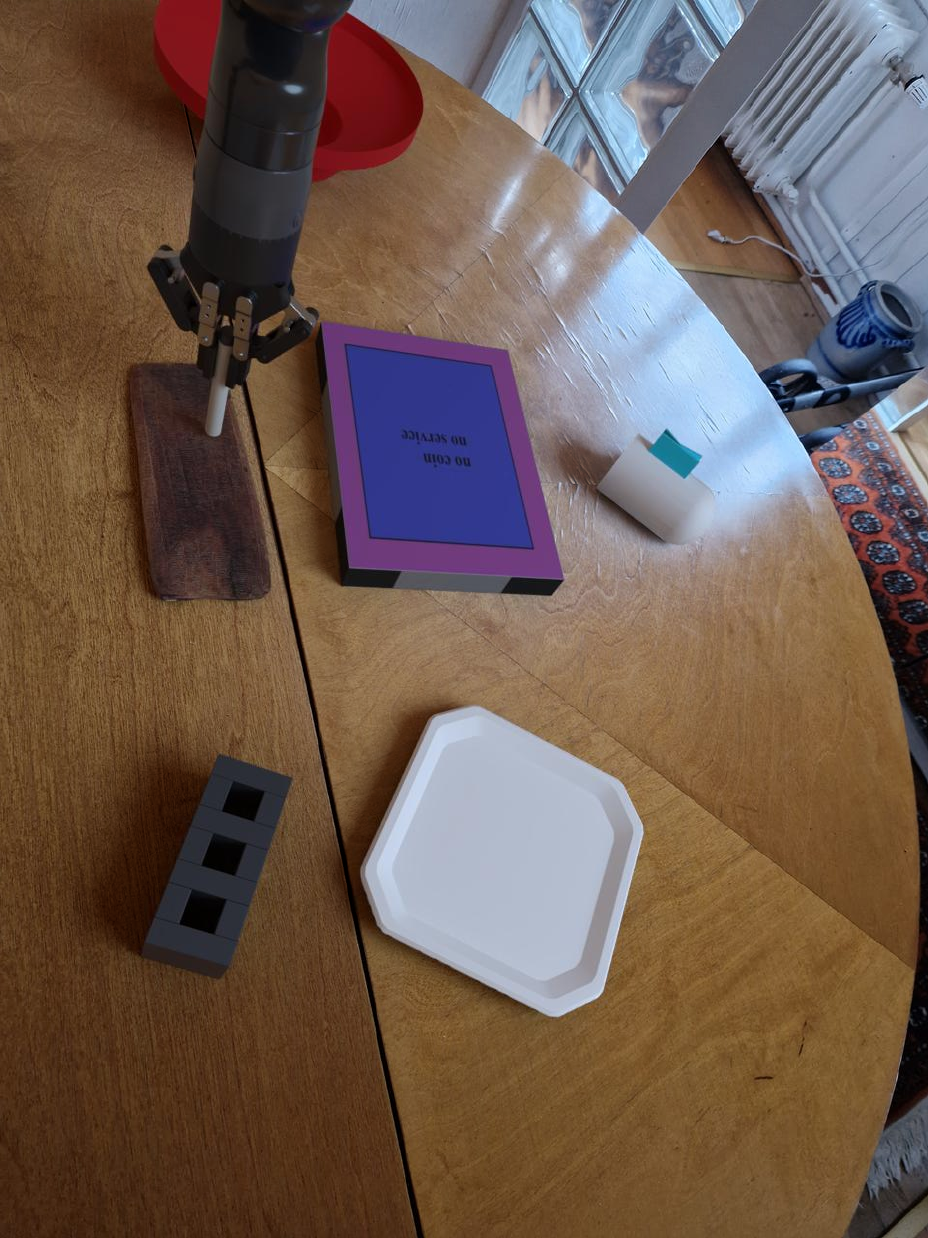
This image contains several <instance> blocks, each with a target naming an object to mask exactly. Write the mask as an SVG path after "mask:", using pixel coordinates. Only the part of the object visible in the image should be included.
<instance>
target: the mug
mask: <svg viewBox="0 0 928 1238" xmlns="http://www.w3.org/2000/svg"><path fill="white" fill-rule="evenodd" d="M702 458H703V455H702V454H700V453H699V452H696V451H695V450H692V449H691V448H689V447H687V446H686V445H684V444H682V443H681V442H680V441H679V440H678V438H676V437H675V435H674V434H673V433H672V432H671V431H670V430H669V428H668V427H666V428H665V429H664V431H663V432H662V433H661V435H659V437H658V438H657V439H656V441H655V442H654V443H652V441H649V440H648V439H647V438H646V437H645V436H643V435H642V434H641V433H637V434H636V436H634V438H633V439H632V441H631V442H630V443H629V444H628V446H627V447H625V449H624V450H623V452H622V453H621V454H620V455H619V457H618V458H617V460H615V462H614V463H613V464H612V466H611V467H610V468H609V470H608V471H607V473H606V474H605V475H604V476H603V478H602V479H601V480H600V482H599V483H598V484H597V486H596V490H598V491H599V492H600V493H601V494H603V495H604V496H606V497H607V498H608V499H610V500H611V501H612V502H613V503H615V504H616V505H617V506H619V507H620V508H621V509H622V510H623V511H625V512H626V513H627V514H629V515H630V516H632V517H633V518H634V519H635V520H637V521H638V522H639V523H641V524H642V525H643V526H644V527H646V528H647V529H648V530H650V531H651V532H652V533H654V534H655V535H656V536H657V537H658V538H660V539H661V540H662V541H664V542H666V543H668V544H671V545H676V546H679V545H686V544H690V543H693V542H695V541H696V540H698V539H699V538H701V537H702V536H703V535H705V534H706V533H707V531H708V530H709V529H710V527H711V526H712V524H713V522H714V521H715V518H716V515H717V499H716V496H715V493H714V491H713V490H712V489H711V487H710V486H709V485H707V484H706V483H705V482H703V481H702V480H701V479H699V478H698V477H696V476H695V475H694V474H693V473H692V472H693V470H694V469H695V468H696V467H697V466H698V464H700V460H701V459H702Z"/></svg>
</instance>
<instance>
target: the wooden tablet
mask: <svg viewBox="0 0 928 1238" xmlns="http://www.w3.org/2000/svg"><path fill="white" fill-rule="evenodd" d="M130 373H131V374H130V377H129V396H130V399H129V400H130V406H131V407H130V408H131V414H132V420H133V429H134V437H135V444H136V451H137V461H138V462H137V463H138V471H139V472H138V473H139V474H138V475H139V485H140V495H141V496H140V497H141V506H142V512H143V522H144V530H145V539H146V549H147V558H148V559H147V560H148V566H149V573H150V577H151V582H152V585H153V589H154V592H155V593H156V595H157V598H159V599H160V600H161V601H163V602H169V603H171V602H183V601H184V602H186V601H194V600H203V599H211V600H212V599H215V600H220V601H231V602H235V601H236V602H241V601H254V600H261V599H263V598H265V597H266V596H267V595H268V594H269V593H270V592H271V588H272V578H271V565H270V564H271V563H270V555H269V550H268V544H267V538H266V537H267V536H266V532H265V527H264V522H263V516H262V512H261V507H260V502H259V499H258V493H257V488H256V484H255V480H254V477H253V473H252V468H251V465H250V462H249V457H248V454H247V453H248V452H247V450H246V446H245V442H244V438H243V435H242V431H241V428H240V424H239V423H240V422H239V419H238V415H237V413H236V408H235V405H234V401H232V394H231V391H230V388H229V389H228V395H227V401H226V406H225V412H224V418H223V423H222V429H221V433H220V435H218V436H210V435H208V434H207V433H206V431H205V426H206V419H207V413H208V406H209V400H210V393H211V387H212V380H213V377H212V379H211V380H208V379H206V378H204V377H202V373H203V371H202V370H200V369H198V367H197V364H196V363H189V362H187V363H186V362H172V363H171V364H169V363H163V362H152V363H143V364H137V365H135V366H133V367H132V369H131V372H130Z"/></svg>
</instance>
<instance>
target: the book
mask: <svg viewBox="0 0 928 1238" xmlns="http://www.w3.org/2000/svg"><path fill="white" fill-rule="evenodd" d="M314 344H315V353H316V362H317V372H318V380H319V390H320V401H321V408H322V409H321V410H322V417H323V419H322V420H323V428H324V438H325V446H326V455H327V464H328V474H329V483H330V484H329V485H330V492H331V493H330V494H331V499H332V500H331V501H332V510H333V511H332V512H333V520H334V521H333V522H334V530H335V539H336V548H337V557H338V567H339V575H340V577H339V578H340V585H341V587H351V588H374V589H392V590H393V589H396V590H417V591H435V592H437V591H439V592H458V593H459V592H462V593H478V594H479V593H481V594H503V595H526V596H542V597H543V596H544V597H545V596H547V597H552V596H553V594H554V593H555V592H556V591H557V590H558V588H559V587H560V586H561V585H562V584H563V582H564V581H565V577H564V573H563V569H562V564H561V560H560V556H559V552H558V547H557V543H556V540H555V536H554V535H555V534H554V531H553V528H552V527H553V526H552V523H551V520H550V519H551V518H550V515H549V511H548V507H547V503H546V499H545V495H544V491H543V486H542V482H541V478H540V475H539V470H538V467H537V463H536V459H535V453H534V450H533V446H532V442H531V438H530V434H529V429H528V426H527V421H526V417H525V413H524V408H523V406H522V402H521V397H520V393H519V389H518V385H517V381H516V377H515V373H514V368H513V366H512V365H513V364H512V361H511V357H510V352H509V350H508V349H503V348H498V347H497V348H496V347H491V346H486V345H479V344H478V345H477V344H472V343H465V342H459V341H453V340H448V339H441V338H440V339H439V338H434V337H428V336H421V335H416V334H408V333H402V332H395V331H389V330H382V329H378V328H377V329H376V328H370V327H365V326H357V325H353V324H352V325H351V324H345V323H338V322H332V321H325V320H320V324H319V327H318V331H317V335H316V338H315V342H314Z"/></svg>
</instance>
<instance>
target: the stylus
mask: <svg viewBox="0 0 928 1238" xmlns="http://www.w3.org/2000/svg"><path fill="white" fill-rule="evenodd" d="M233 332H234V325H233V326H232V325H230V324H226V325H225V324H224V325H222V327H221V329H220V335H219V341H218V349H217V355H216V362H215V368H214V375H213V380H212V387H211V393H210V400H209V406H208V413H207V419H206V426H205V431H206V433H207V434H208V435H210V436H218V435H220V433H221V429H222V423H223V418H224V412H225V406H226V401H227V395H228V389H229V390H230V388H228V387H226V386H225V382H226V376H227V370H228V364H229V358H230V355H231V353H232V352H233V345H234V337H233Z"/></svg>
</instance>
